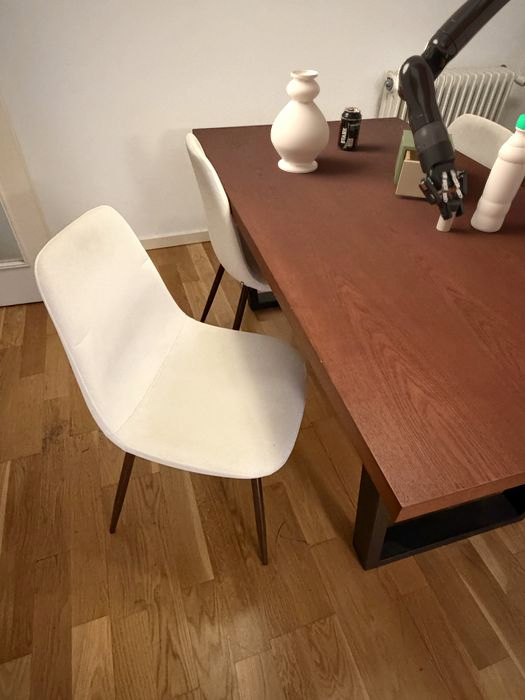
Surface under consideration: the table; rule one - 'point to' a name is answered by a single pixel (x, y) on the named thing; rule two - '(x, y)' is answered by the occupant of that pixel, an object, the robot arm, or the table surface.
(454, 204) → the small capped bottle
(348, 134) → the beverage can
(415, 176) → the drawer
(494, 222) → the water bottle
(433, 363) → the table surface
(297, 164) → the decorative vase
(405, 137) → the cabinet
